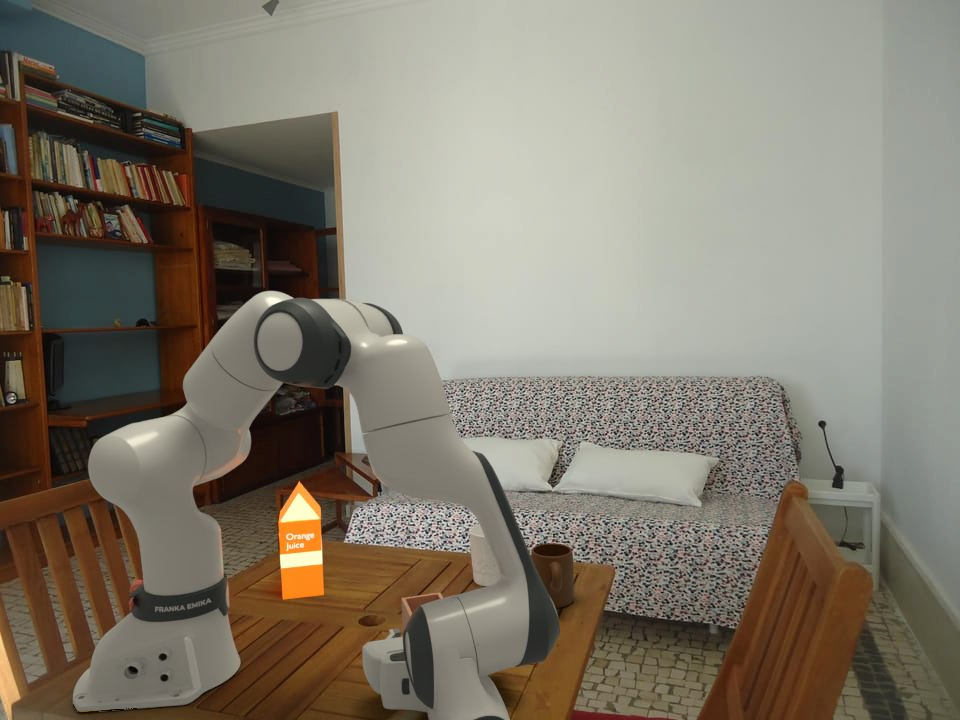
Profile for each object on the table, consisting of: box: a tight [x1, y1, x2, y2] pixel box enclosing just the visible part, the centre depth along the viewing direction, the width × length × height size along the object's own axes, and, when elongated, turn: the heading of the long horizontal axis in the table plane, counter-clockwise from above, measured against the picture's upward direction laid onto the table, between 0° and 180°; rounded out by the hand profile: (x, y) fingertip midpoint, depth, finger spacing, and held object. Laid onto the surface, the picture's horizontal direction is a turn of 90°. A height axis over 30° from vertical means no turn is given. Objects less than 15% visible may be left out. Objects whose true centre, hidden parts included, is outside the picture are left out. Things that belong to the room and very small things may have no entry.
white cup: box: [468, 524, 500, 587], centre depth 141 cm, size 8×8×10 cm
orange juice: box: [277, 481, 325, 600], centre depth 139 cm, size 8×9×20 cm
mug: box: [530, 542, 575, 609], centre depth 128 cm, size 12×8×9 cm, turn 1°
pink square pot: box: [400, 592, 444, 634], centre depth 108 cm, size 6×7×10 cm
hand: (425, 628), depth 108 cm, fingers open, 8 cm apart
